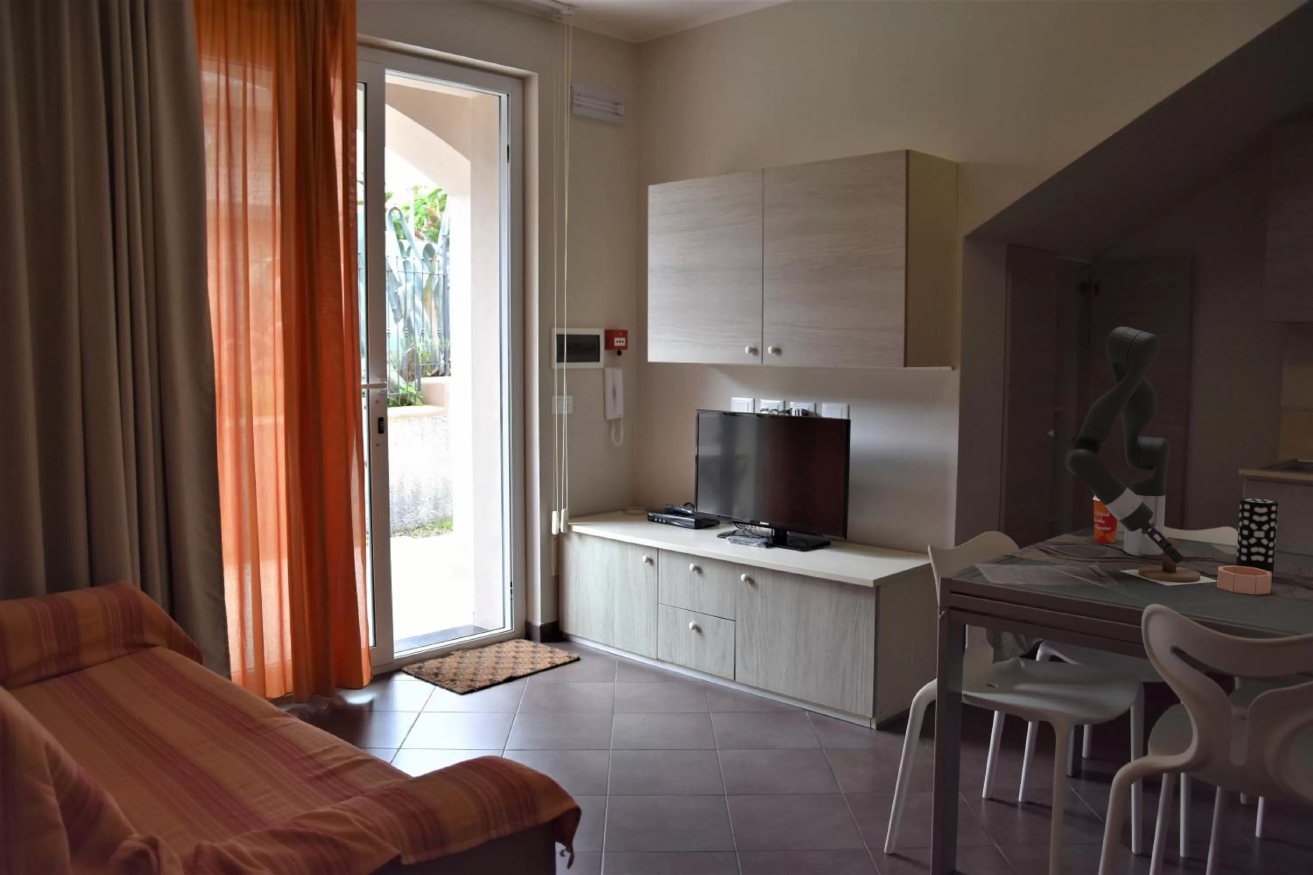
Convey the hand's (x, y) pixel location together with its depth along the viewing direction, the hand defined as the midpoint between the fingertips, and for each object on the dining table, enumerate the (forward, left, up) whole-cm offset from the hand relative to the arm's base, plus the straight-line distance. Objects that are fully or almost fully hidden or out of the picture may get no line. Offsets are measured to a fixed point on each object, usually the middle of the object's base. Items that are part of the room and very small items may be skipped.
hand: (1178, 558), depth 253 cm
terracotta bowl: (+14, +6, -5) cm, 16 cm away
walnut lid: (-1, -2, -4) cm, 5 cm away
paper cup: (-45, +16, -5) cm, 48 cm away
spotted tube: (+4, +20, -5) cm, 21 cm away
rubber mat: (-1, -2, -5) cm, 6 cm away
